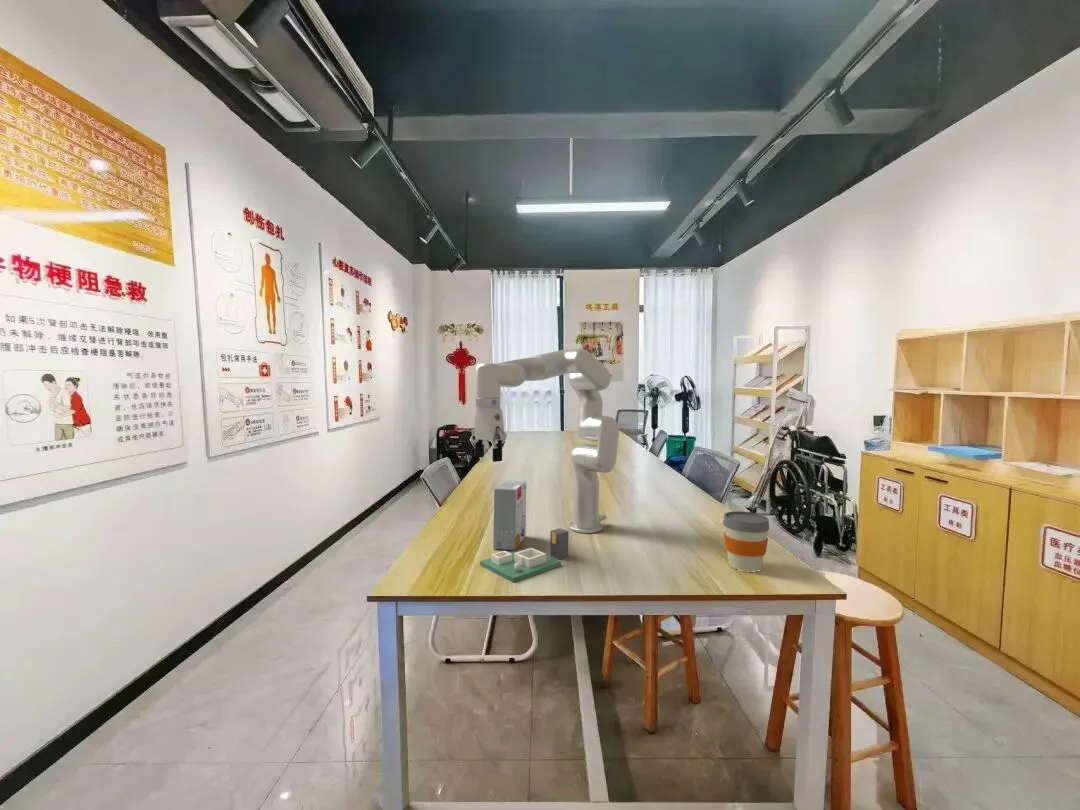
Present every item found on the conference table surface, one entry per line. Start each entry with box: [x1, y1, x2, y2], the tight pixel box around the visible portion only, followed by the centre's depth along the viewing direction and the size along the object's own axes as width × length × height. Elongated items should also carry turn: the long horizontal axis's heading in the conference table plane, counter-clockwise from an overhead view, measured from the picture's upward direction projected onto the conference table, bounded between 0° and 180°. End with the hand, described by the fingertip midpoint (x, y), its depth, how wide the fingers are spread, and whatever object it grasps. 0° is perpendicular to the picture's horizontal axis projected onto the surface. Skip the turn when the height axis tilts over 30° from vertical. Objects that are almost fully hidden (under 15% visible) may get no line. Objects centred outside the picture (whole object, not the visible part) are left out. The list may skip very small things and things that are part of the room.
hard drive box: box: [492, 479, 527, 551], centre depth 160 cm, size 16×8×20 cm, turn 168°
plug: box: [549, 528, 570, 560], centre depth 147 cm, size 4×4×8 cm
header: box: [514, 547, 547, 568], centre depth 139 cm, size 7×7×2 cm
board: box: [479, 547, 562, 583], centre depth 140 cm, size 18×16×3 cm
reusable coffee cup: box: [722, 510, 770, 571], centre depth 139 cm, size 13×13×15 cm
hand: (488, 459), depth 145 cm, fingers open, 9 cm apart
